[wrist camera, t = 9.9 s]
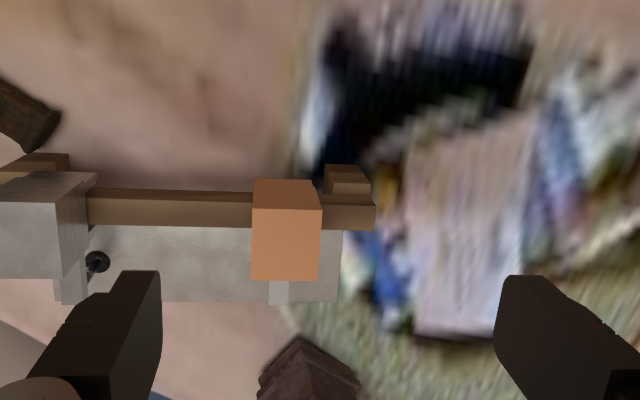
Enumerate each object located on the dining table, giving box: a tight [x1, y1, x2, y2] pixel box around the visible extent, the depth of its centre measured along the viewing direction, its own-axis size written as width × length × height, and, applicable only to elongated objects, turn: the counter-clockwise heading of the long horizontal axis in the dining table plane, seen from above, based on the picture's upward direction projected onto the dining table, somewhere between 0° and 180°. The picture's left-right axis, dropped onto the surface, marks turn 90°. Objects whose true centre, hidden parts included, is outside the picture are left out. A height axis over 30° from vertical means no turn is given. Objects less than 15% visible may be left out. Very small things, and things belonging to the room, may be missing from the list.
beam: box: [0, 152, 376, 231], centre depth 40 cm, size 4×28×8 cm, turn 86°
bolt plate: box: [53, 225, 343, 302], centre depth 46 cm, size 8×26×1 cm, turn 86°
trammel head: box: [250, 178, 323, 305], centre depth 38 cm, size 11×4×12 cm, turn 176°
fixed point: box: [0, 171, 101, 305], centre depth 36 cm, size 11×4×12 cm, turn 176°
